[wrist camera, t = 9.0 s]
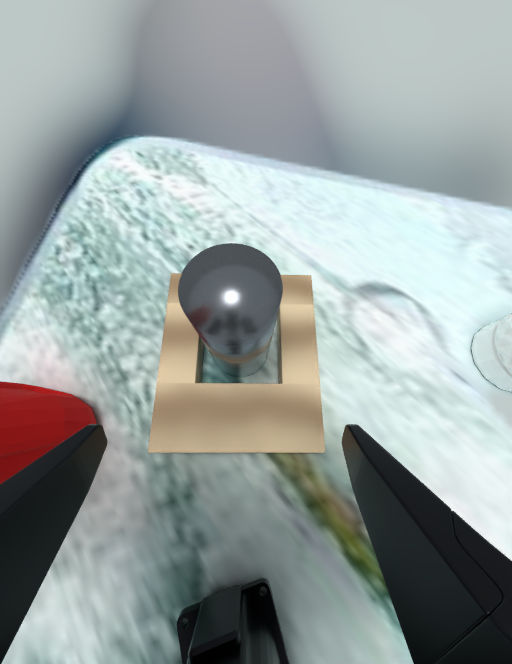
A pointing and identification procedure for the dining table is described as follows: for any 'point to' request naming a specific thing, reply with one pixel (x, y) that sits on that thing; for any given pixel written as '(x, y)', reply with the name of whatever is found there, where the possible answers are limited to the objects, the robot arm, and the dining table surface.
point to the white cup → (495, 352)
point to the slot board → (240, 388)
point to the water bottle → (36, 423)
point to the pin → (232, 304)
